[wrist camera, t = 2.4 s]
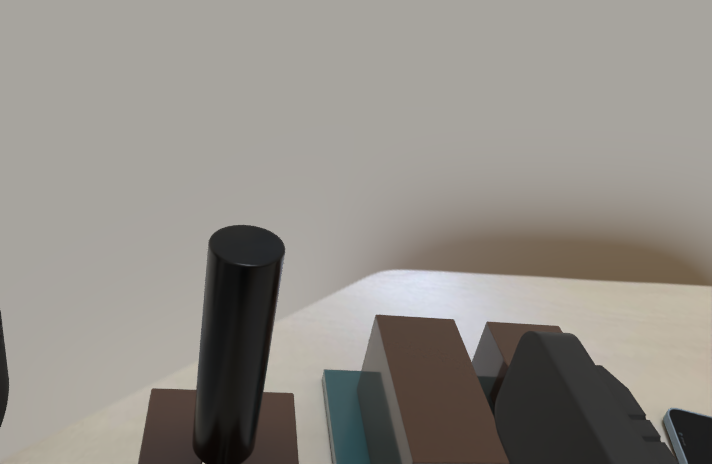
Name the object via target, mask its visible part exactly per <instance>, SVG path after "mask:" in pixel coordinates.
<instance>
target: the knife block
mask: <svg viewBox="0 0 712 464" xmlns="http://www.w3.org/2000/svg"><path fill="white" fill-rule="evenodd" d="M195 401H196V390H183V389H152V390H151V395H150V400H149V406H148V412H147V417H146V423H145V428H144V434H143V439H142V445H141V450H140V456H139V462H138V464H202V461H201V460H200V459H199V458H198V457H197V456H196V454H195V452H194V450H193V447H192V437H193V425H194V413H195ZM241 464H299V461H298V448H297V434H296V420H295V407H294V394H293V393H274V392H263V397H262V403H261V410H260V416H259V423H258V429H257V436H256V442H255V447H254V450H253V452H252V454H251V455H250V457H249V458H248V459H247V460H246V461H244V462H243V463H241Z"/></svg>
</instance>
